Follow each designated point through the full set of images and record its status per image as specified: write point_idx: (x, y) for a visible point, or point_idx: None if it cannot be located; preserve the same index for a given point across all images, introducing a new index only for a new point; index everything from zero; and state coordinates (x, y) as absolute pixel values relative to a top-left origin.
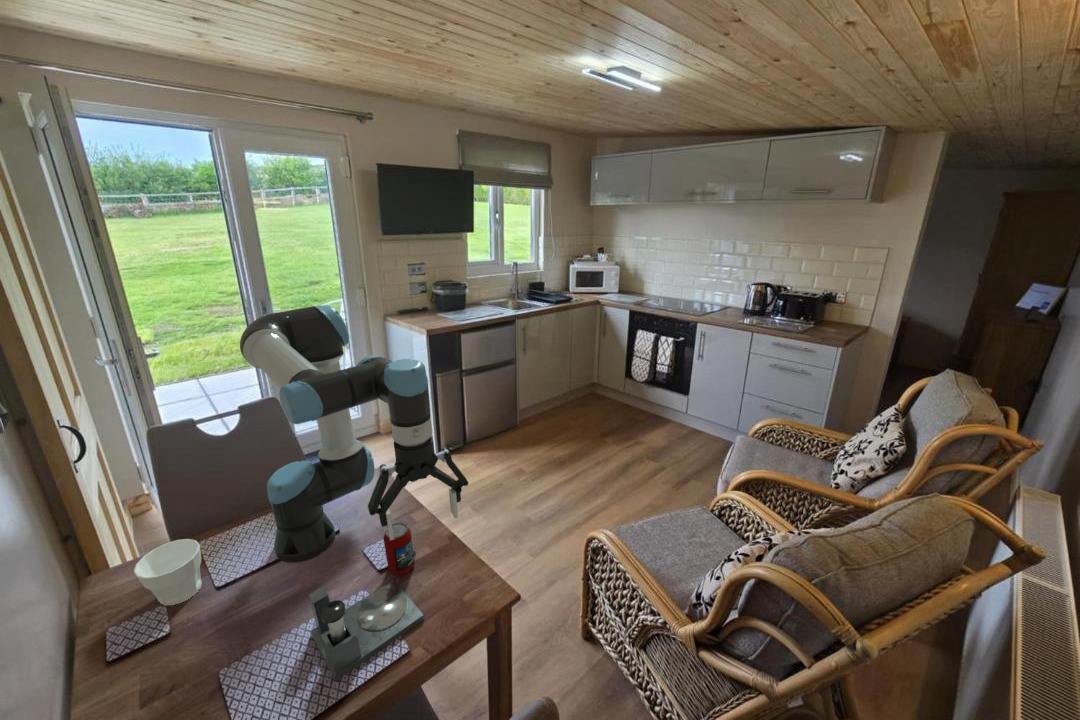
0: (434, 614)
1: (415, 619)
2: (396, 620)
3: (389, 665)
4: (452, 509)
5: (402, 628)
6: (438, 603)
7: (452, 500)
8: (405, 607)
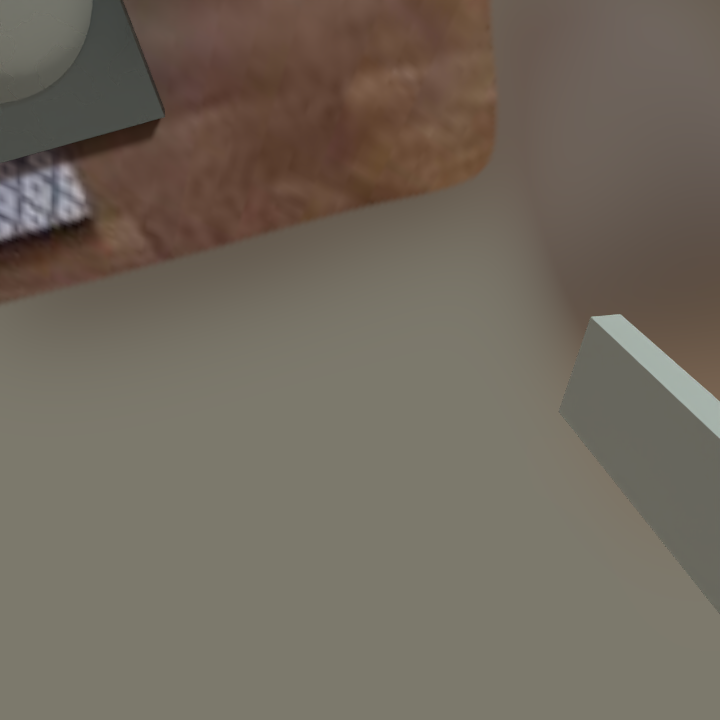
0: (212, 105)
1: (125, 123)
2: (33, 89)
3: (7, 242)
4: (610, 412)
5: (62, 139)
6: (242, 55)
7: (688, 543)
8: (82, 32)
